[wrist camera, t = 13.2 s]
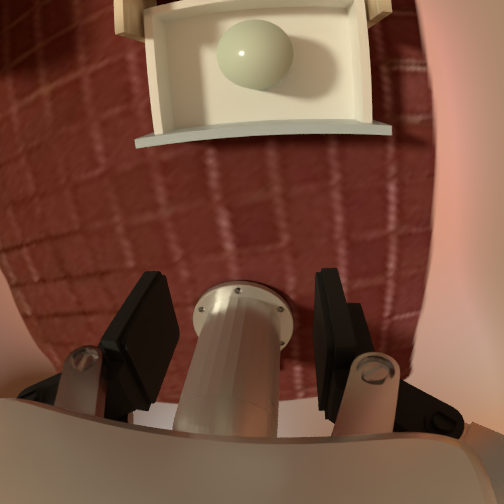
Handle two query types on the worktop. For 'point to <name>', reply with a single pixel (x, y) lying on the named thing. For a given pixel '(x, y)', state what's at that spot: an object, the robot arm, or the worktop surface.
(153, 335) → the robot arm
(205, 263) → the worktop surface
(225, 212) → the worktop surface
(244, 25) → the cream glossy rounded part
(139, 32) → the sleeve
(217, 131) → the tray
